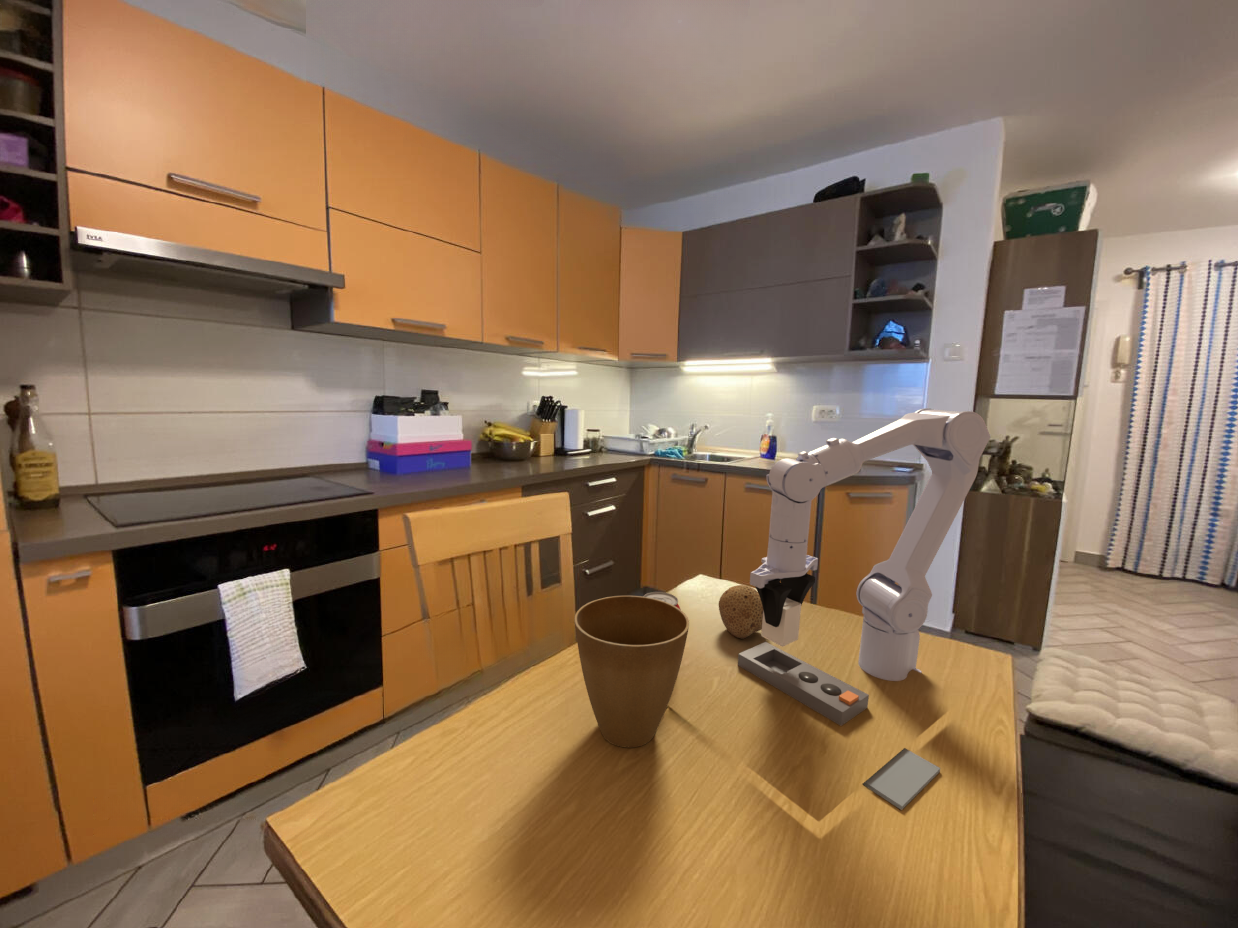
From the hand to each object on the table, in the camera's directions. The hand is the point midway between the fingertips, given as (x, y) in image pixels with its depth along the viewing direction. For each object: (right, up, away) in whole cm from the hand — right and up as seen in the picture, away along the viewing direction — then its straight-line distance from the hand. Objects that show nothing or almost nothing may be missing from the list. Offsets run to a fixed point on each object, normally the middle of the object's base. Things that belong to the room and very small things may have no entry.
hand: (781, 620), depth 80 cm
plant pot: (-24, -11, -11) cm, 29 cm away
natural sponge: (-3, -8, +15) cm, 17 cm away
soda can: (-19, -9, +4) cm, 22 cm away
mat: (+7, -13, -16) cm, 22 cm away
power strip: (+2, -10, -2) cm, 11 cm away
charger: (0, -3, 0) cm, 3 cm away
